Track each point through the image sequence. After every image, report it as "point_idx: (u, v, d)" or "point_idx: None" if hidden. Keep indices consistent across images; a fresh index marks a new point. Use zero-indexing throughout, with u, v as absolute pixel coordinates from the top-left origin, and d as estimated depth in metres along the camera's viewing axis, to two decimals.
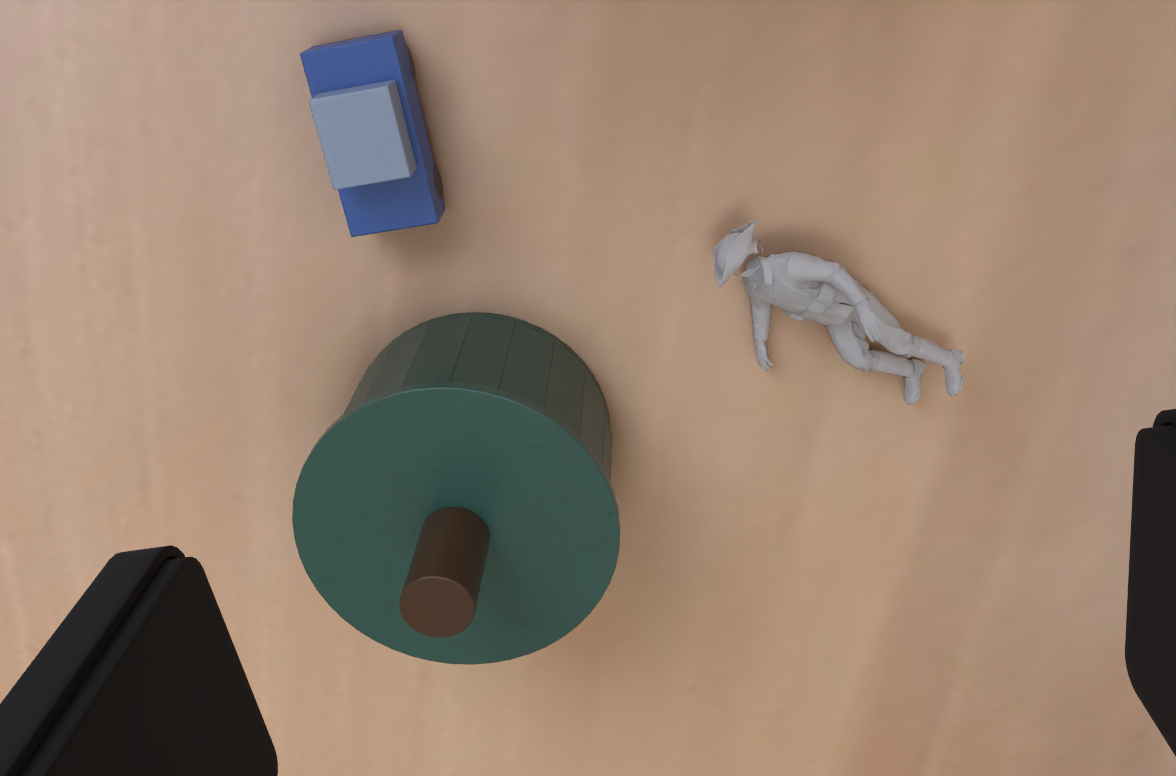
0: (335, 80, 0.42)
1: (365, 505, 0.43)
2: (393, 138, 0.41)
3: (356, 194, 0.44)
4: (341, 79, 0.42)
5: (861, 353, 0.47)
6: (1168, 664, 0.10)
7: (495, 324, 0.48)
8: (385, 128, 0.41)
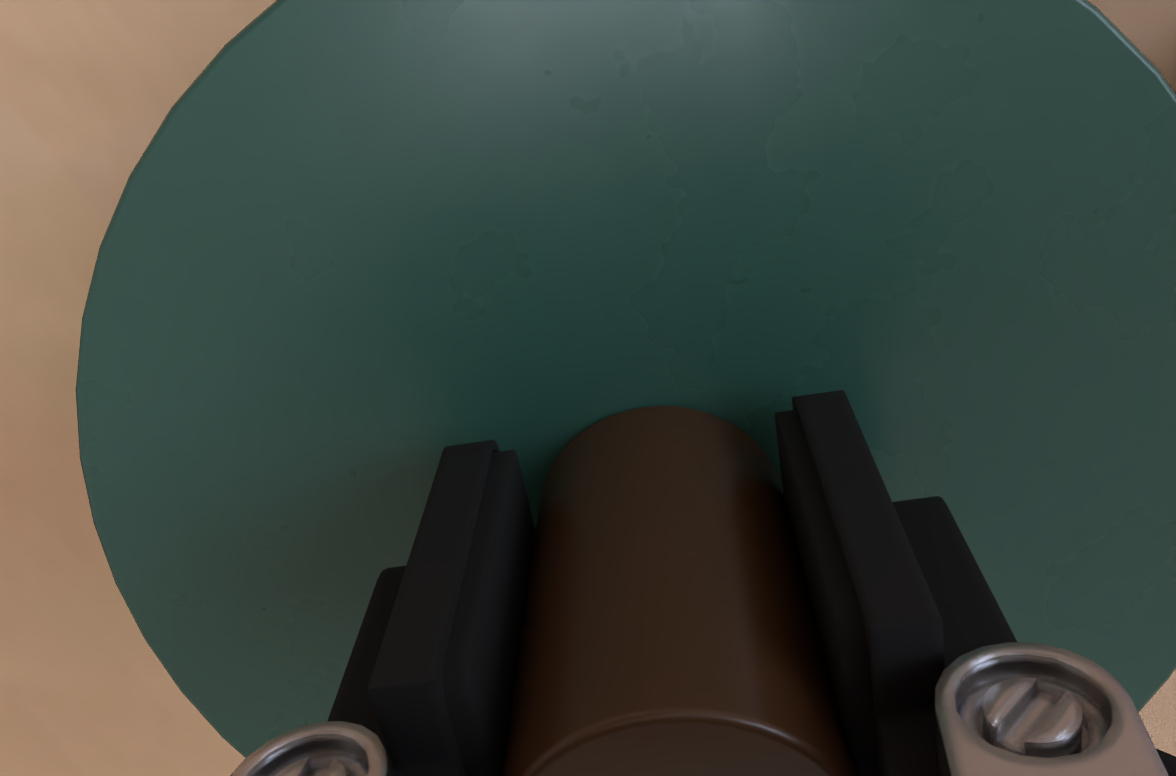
0: None
1: (807, 209, 0.11)
2: None
3: None
4: None
5: None
6: None
7: None
8: None
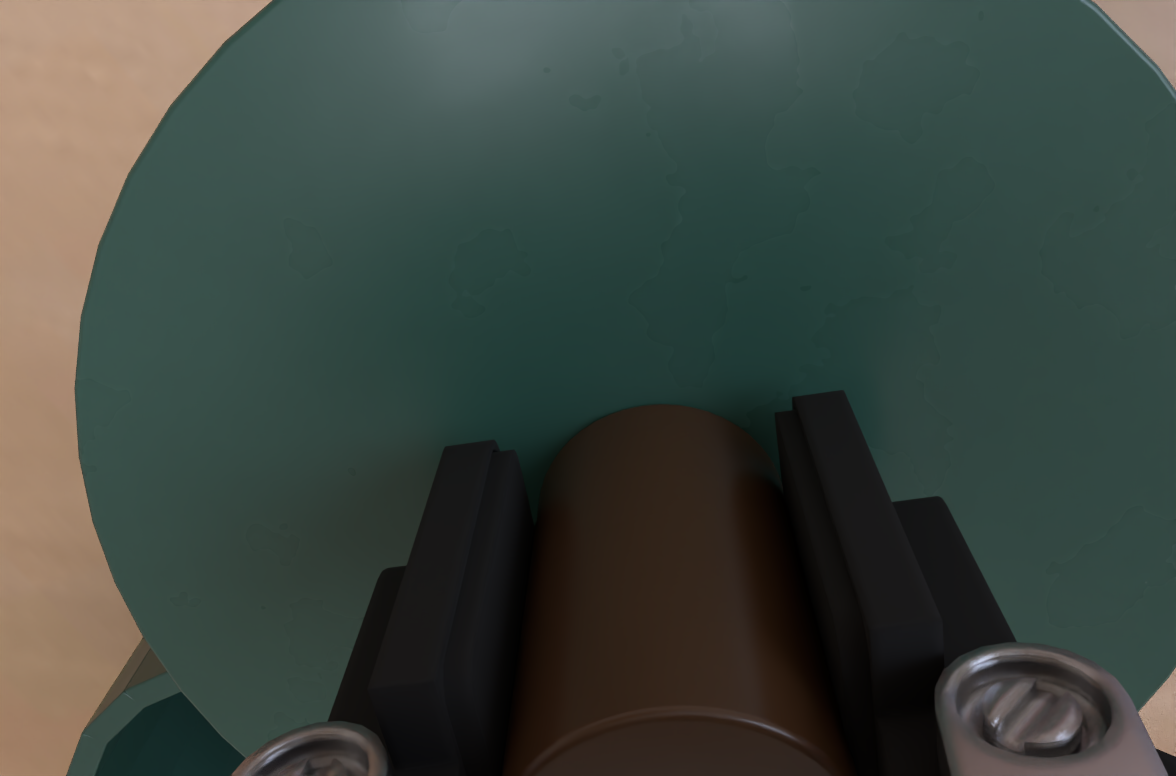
0: None
1: (806, 206, 0.11)
2: None
3: None
4: None
5: None
6: None
7: None
8: None
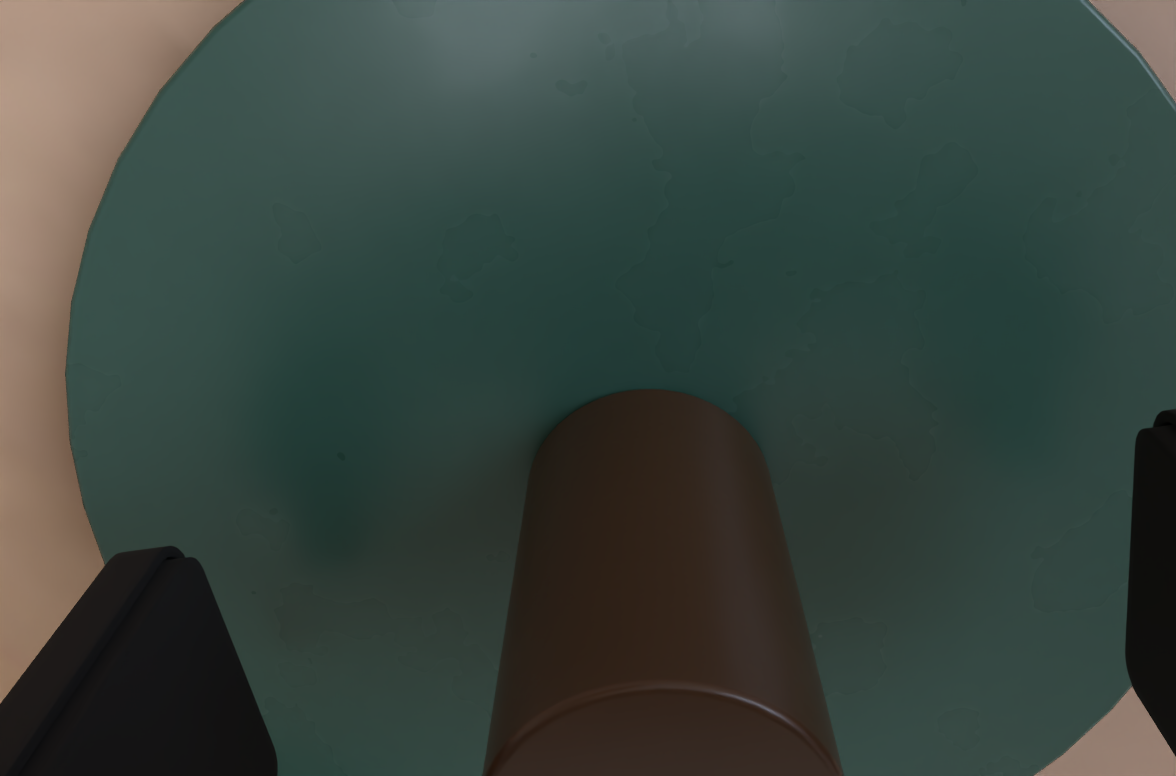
0: None
1: (790, 192, 0.11)
2: None
3: None
4: None
5: None
6: (1168, 663, 0.10)
7: None
8: None
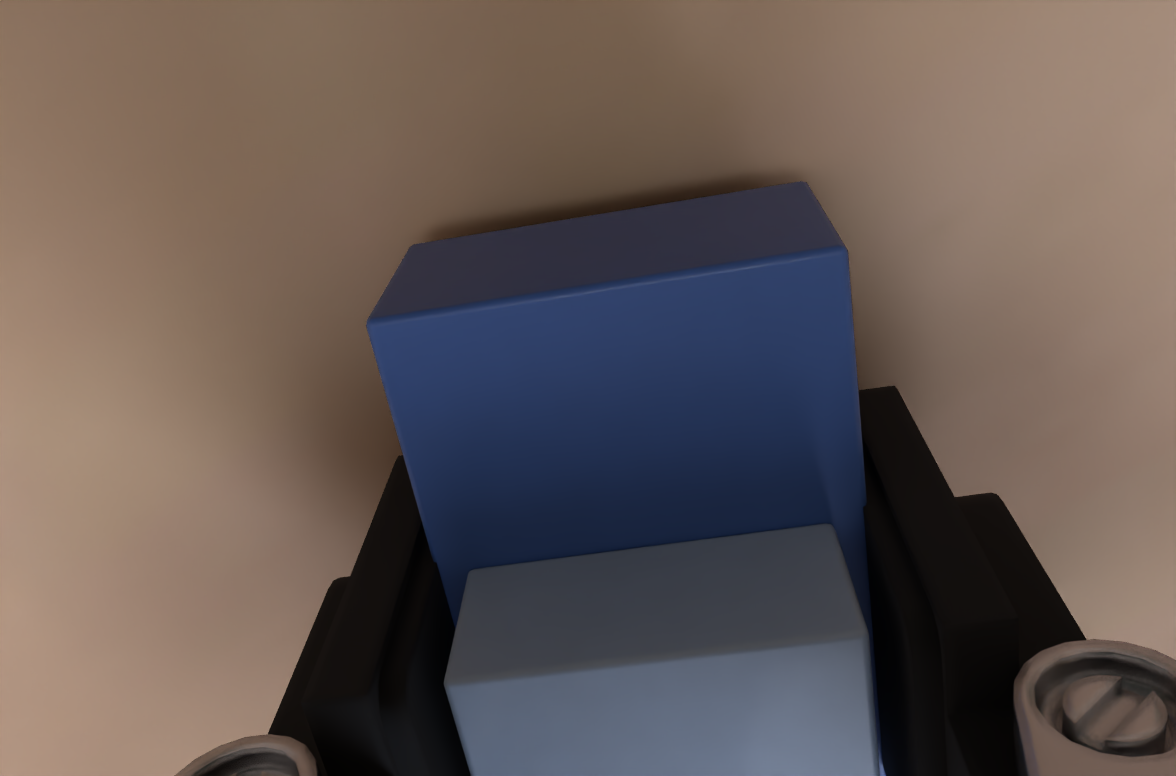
0: None
1: None
2: None
3: (775, 460, 0.09)
4: None
5: None
6: None
7: None
8: None
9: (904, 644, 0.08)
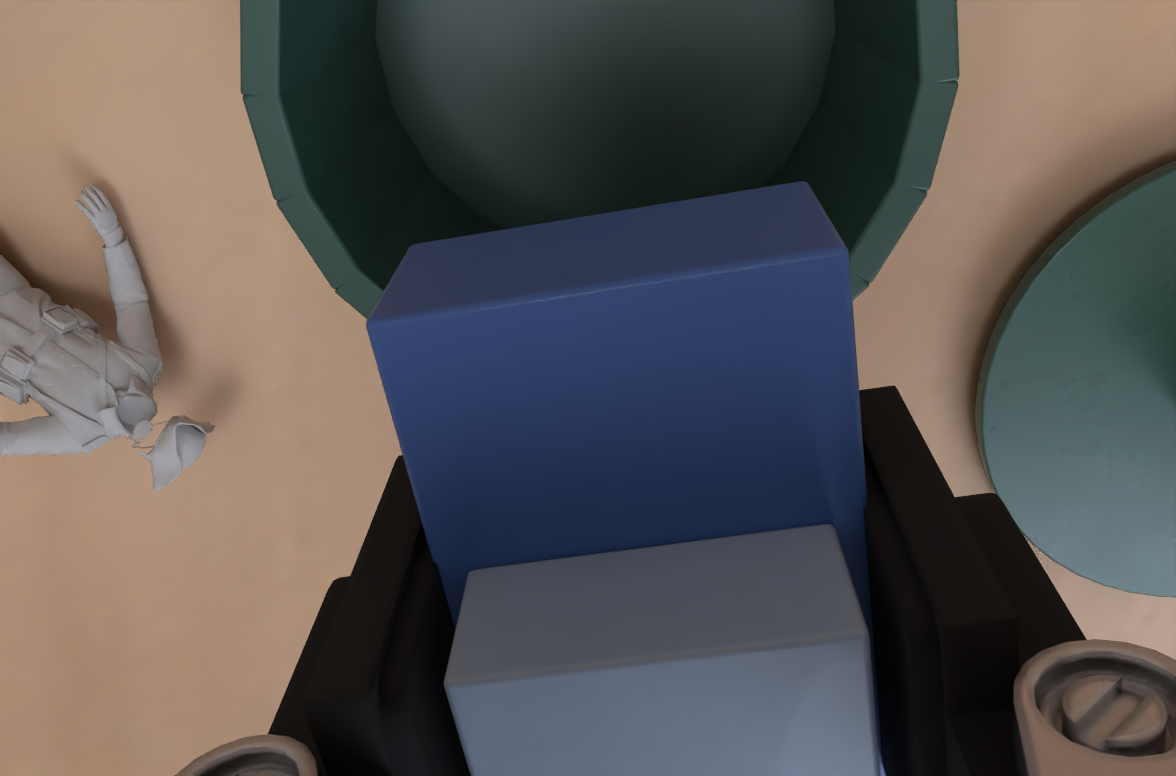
0: None
1: None
2: None
3: (775, 460, 0.09)
4: None
5: None
6: None
7: None
8: None
9: (904, 644, 0.08)
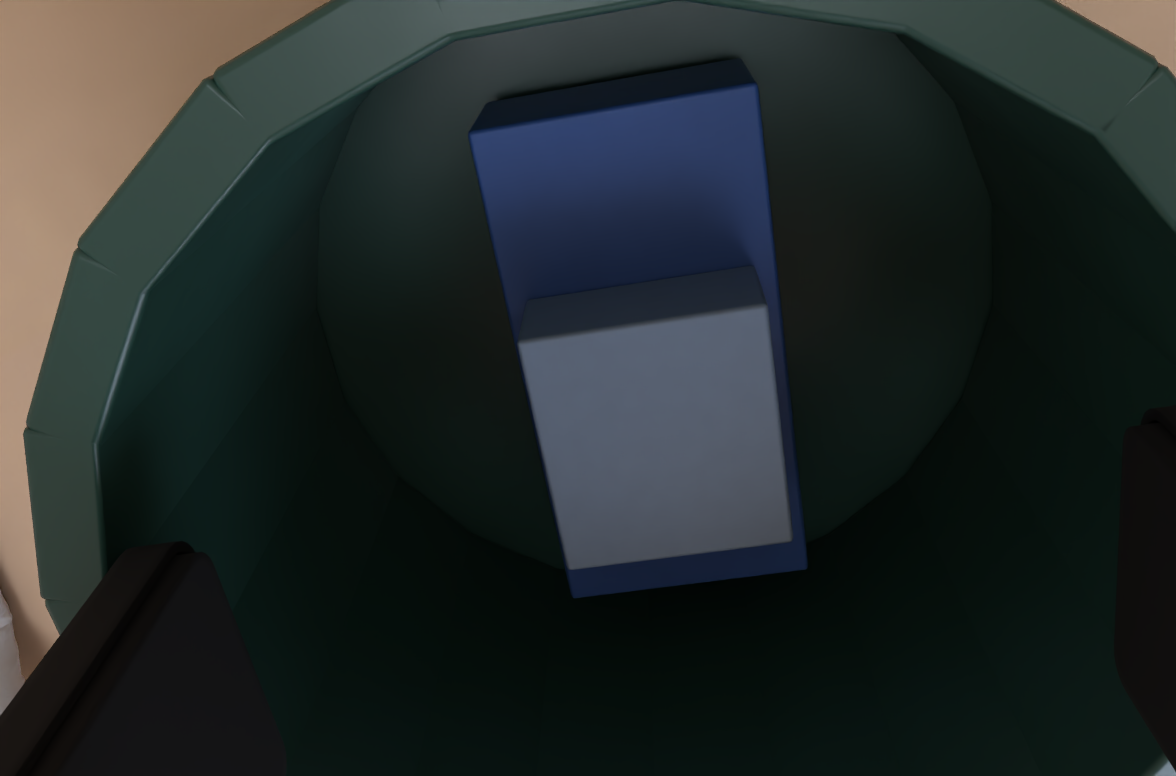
0: None
1: None
2: (561, 448, 0.14)
3: (718, 223, 0.14)
4: None
5: None
6: (1155, 660, 0.10)
7: None
8: (583, 473, 0.14)
9: None
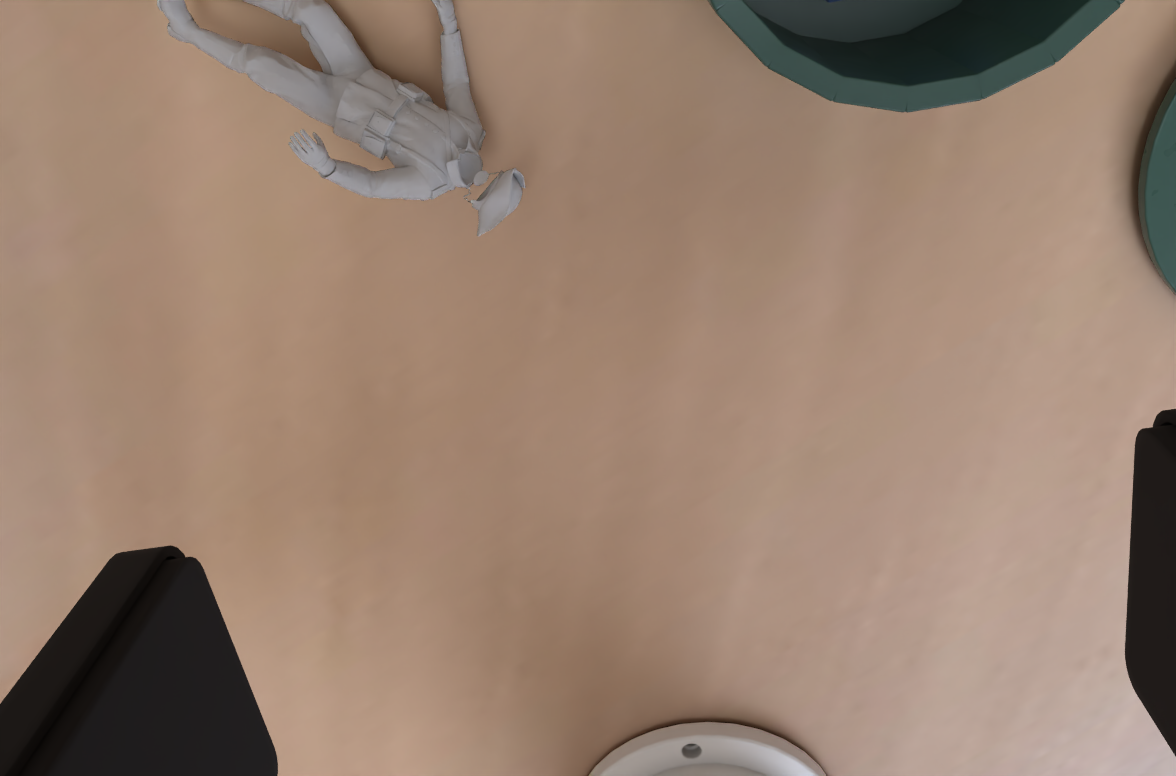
0: None
1: None
2: None
3: None
4: None
5: (310, 29, 0.34)
6: (1168, 663, 0.10)
7: None
8: None
9: None
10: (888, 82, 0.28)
